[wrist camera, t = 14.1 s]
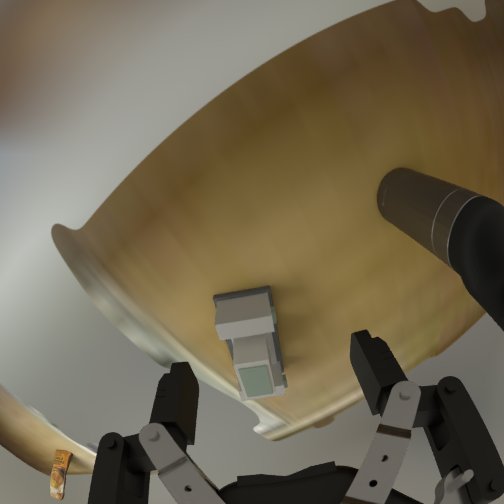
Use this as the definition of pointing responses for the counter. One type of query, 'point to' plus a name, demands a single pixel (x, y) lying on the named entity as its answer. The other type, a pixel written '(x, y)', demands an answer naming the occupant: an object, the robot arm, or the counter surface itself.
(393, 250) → the counter surface
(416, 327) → the counter surface
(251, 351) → the block
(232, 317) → the rail
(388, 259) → the counter surface
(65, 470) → the pancake mix bag
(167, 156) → the counter surface
